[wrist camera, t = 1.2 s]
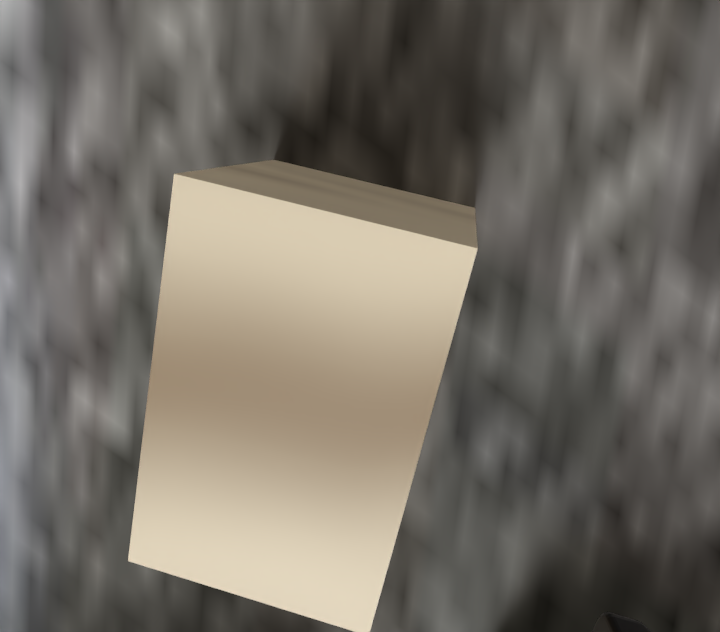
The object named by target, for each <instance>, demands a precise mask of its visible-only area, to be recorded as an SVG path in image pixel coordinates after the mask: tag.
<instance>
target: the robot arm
mask: <svg viewBox="0 0 720 632" xmlns="http://www.w3.org/2000/svg"><path fill="white" fill-rule="evenodd" d="M592 632H650V631H649V630H648V628H647V627H646V626H645V625H644V624H642V623H641V622H639V621H637V620H635V619H631V618H628V617H624V616H621V615H617V614H614V613H611V612H606V613H603V614H601V615H600V617H599V618H598V619H597V621H596V623H595V626H594V628H593V630H592Z"/></svg>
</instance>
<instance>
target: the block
mask: <svg viewBox="0 0 720 632" xmlns="http://www.w3.org/2000/svg"><path fill="white" fill-rule="evenodd" d="M477 249H478V245H477V231H476V217H475V208H473V207H469V206H465V205H461V204H457V203H452V202H448V201H444V200H440V199H436V198H432V197H427V196H423V195H419V194H415V193H411V192H407V191H402V190H398V189H394V188H390V187H386V186H382V185H377V184H373V183H369V182H365V181H361V180H357V179H352V178H348V177H344V176H340V175H336V174H331V173H327V172H323V171H319V170H315V169H311V168H306V167H302V166H298V165H294V164H290V163H286V162H281V161H277V160H268V161H261V162H254V163H247V164H240V165H233V166H226V167H219V168H211V169H204V170H197V171H190V172H183V173H176V174H174V180H173V188H172V196H171V205H170V213H169V222H168V230H167V238H166V247H165V255H164V263H163V272H162V280H161V289H160V297H159V305H158V314H157V322H156V330H155V339H154V347H153V356H152V364H151V372H150V381H149V389H148V397H147V406H146V414H145V423H144V431H143V439H142V448H141V456H140V464H139V473H138V481H137V490H136V498H135V506H134V515H133V523H132V531H131V540H130V548H129V557H128V561H130V562H133V563H136V564H139V565H142V566H146V567H149V568H152V569H155V570H158V571H162V572H165V573H168V574H171V575H174V576H178V577H181V578H184V579H187V580H191V581H194V582H197V583H200V584H203V585H207V586H210V587H213V588H216V589H219V590H223V591H226V592H229V593H232V594H236V595H239V596H242V597H245V598H248V599H252V600H255V601H258V602H261V603H264V604H268V605H271V606H274V607H277V608H280V609H284V610H287V611H290V612H293V613H297V614H300V615H303V616H306V617H309V618H313V619H316V620H319V621H322V622H325V623H329V624H332V625H335V626H338V627H341V628H345V629H348V630H351V631H354V632H370V629H371V626H372V622H373V619H374V615H375V612H376V608H377V605H378V601H379V597H380V594H381V590H382V587H383V583H384V580H385V576H386V573H387V569H388V566H389V562H390V558H391V555H392V551H393V548H394V544H395V541H396V537H397V534H398V530H399V526H400V523H401V519H402V516H403V512H404V509H405V505H406V502H407V498H408V494H409V491H410V487H411V484H412V480H413V477H414V473H415V470H416V466H417V462H418V459H419V455H420V452H421V448H422V445H423V441H424V438H425V434H426V431H427V427H428V423H429V420H430V416H431V413H432V409H433V406H434V402H435V399H436V395H437V391H438V388H439V384H440V381H441V377H442V374H443V370H444V367H445V363H446V359H447V356H448V352H449V349H450V345H451V342H452V338H453V335H454V331H455V328H456V324H457V320H458V317H459V313H460V310H461V306H462V303H463V299H464V296H465V292H466V288H467V285H468V281H469V278H470V274H471V271H472V267H473V264H474V260H475V256H476V253H477Z"/></svg>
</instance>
